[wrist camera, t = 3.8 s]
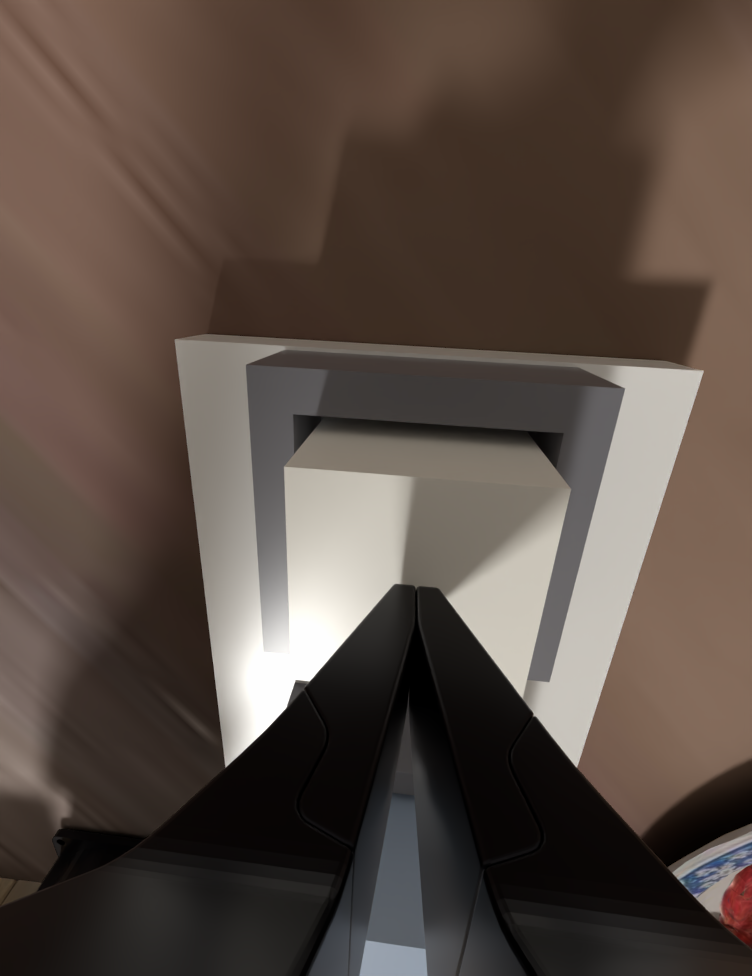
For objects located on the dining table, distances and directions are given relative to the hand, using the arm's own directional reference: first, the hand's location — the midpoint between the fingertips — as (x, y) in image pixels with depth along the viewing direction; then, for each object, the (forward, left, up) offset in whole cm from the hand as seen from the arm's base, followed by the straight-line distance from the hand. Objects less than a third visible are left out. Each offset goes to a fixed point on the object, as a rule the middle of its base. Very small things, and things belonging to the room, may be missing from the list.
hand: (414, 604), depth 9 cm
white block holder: (0, -6, -8) cm, 10 cm away
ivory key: (0, 0, -4) cm, 4 cm away
